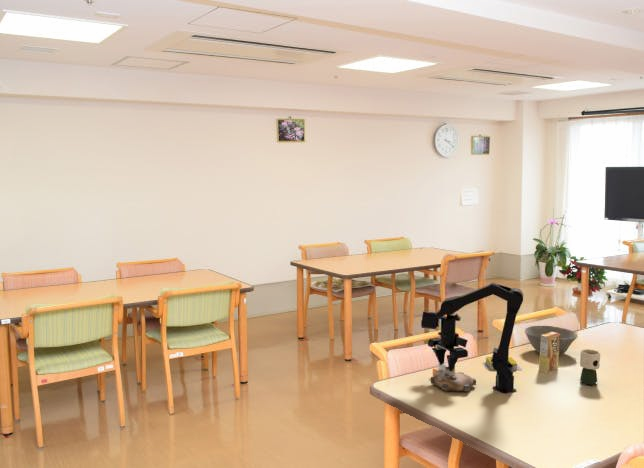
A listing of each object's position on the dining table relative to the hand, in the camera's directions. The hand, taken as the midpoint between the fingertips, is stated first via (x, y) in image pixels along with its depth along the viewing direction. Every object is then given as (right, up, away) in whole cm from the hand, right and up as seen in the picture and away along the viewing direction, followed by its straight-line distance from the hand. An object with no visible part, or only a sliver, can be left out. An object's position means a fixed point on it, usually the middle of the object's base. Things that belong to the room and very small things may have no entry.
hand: (446, 368), depth 240 cm
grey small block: (0, -2, 0) cm, 2 cm away
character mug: (+57, -6, +2) cm, 57 cm away
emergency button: (+28, -4, +21) cm, 35 cm away
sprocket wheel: (+2, -6, -3) cm, 7 cm away
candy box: (+47, -4, +18) cm, 51 cm away
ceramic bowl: (+56, -2, +41) cm, 69 cm away
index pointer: (-3, -5, +6) cm, 8 cm away
